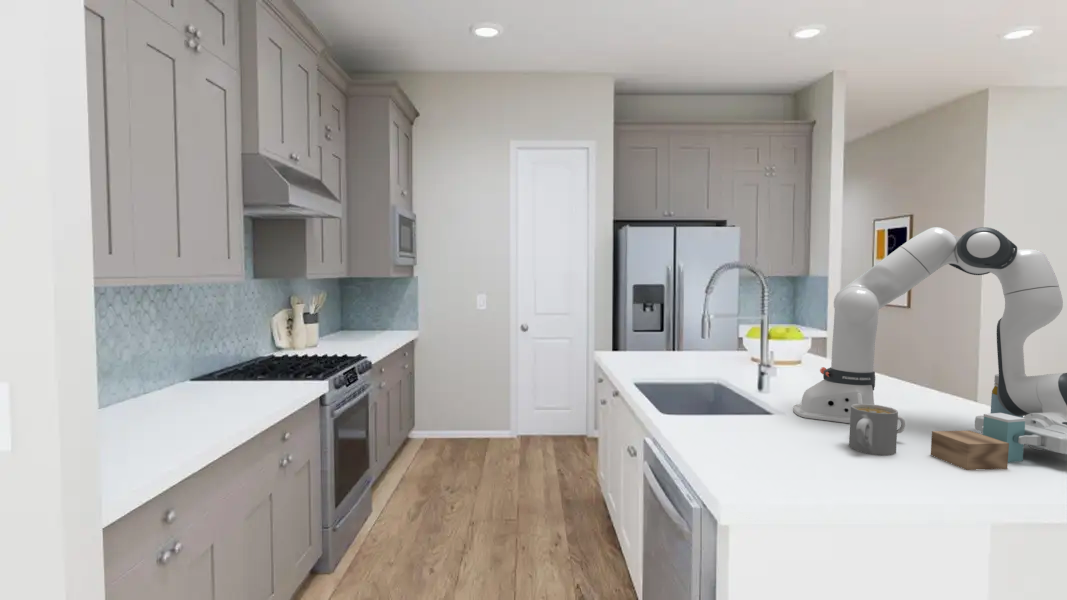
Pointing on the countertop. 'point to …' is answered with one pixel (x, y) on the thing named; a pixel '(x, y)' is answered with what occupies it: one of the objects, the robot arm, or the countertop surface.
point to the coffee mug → (873, 429)
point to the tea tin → (1006, 432)
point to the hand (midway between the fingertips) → (1000, 435)
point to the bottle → (995, 403)
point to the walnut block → (969, 450)
